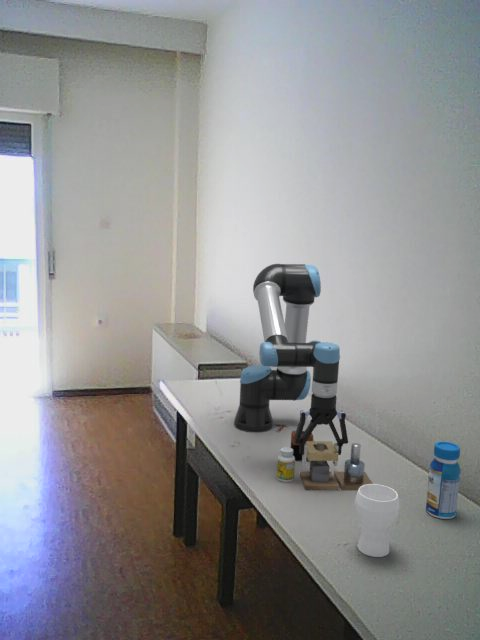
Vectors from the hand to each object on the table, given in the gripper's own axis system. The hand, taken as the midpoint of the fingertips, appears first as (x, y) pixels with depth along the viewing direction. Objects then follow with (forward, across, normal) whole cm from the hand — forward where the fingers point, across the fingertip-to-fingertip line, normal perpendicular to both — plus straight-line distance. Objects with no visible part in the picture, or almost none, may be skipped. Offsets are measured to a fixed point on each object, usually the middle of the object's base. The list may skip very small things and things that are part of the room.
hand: (319, 464), depth 183 cm
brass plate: (-3, 0, 0) cm, 3 cm away
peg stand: (+6, +11, 0) cm, 13 cm away
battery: (+6, -2, +19) cm, 20 cm away
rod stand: (+6, 0, 0) cm, 6 cm away
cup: (+6, +6, -37) cm, 38 cm away
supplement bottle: (+6, -10, +3) cm, 12 cm away
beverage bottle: (+6, +31, -19) cm, 37 cm away
